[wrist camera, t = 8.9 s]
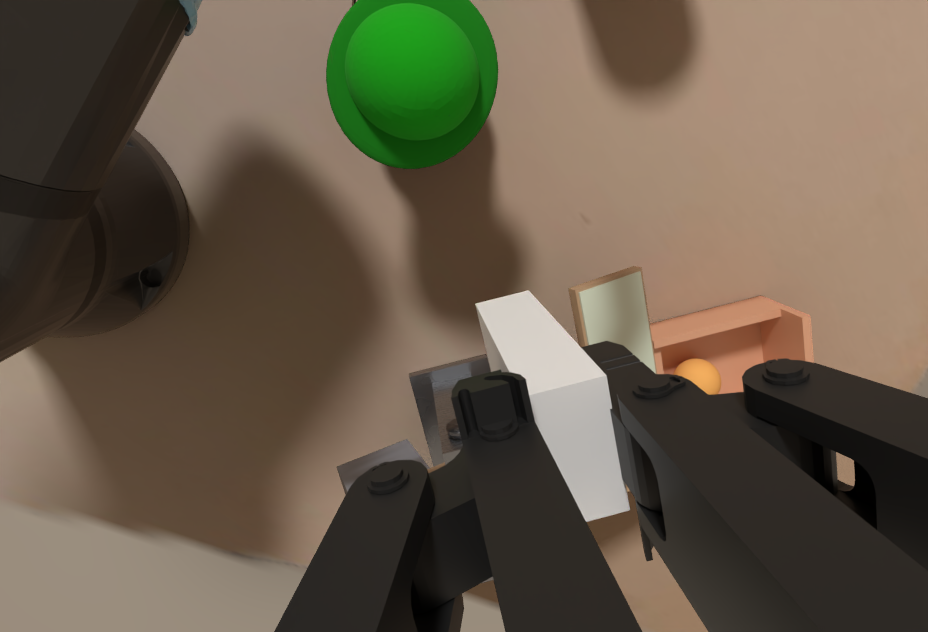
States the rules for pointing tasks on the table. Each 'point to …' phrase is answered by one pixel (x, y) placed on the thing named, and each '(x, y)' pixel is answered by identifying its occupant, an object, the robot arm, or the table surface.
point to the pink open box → (733, 338)
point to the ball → (700, 374)
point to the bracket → (443, 405)
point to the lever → (596, 320)
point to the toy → (412, 78)
